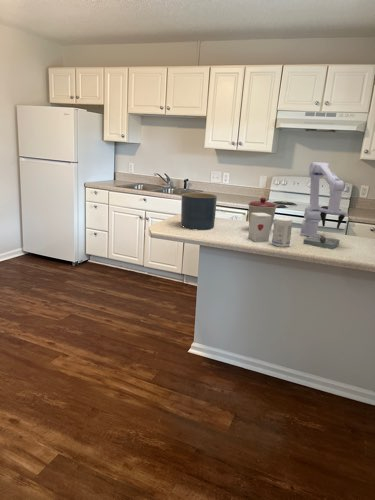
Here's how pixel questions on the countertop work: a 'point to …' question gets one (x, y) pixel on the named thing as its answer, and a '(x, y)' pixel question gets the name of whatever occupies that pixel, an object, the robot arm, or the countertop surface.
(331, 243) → the grey board with rails
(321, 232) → the cream ball
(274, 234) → the supplement tub
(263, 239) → the supplement box
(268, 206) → the canister
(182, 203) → the planter
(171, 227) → the countertop surface
